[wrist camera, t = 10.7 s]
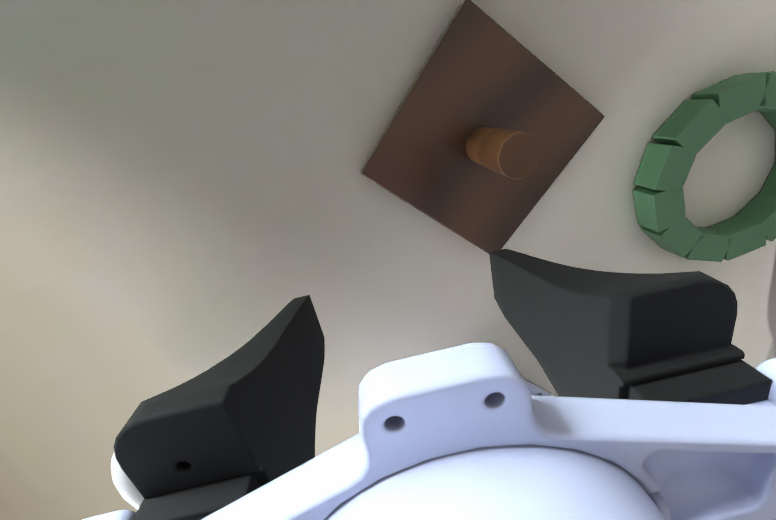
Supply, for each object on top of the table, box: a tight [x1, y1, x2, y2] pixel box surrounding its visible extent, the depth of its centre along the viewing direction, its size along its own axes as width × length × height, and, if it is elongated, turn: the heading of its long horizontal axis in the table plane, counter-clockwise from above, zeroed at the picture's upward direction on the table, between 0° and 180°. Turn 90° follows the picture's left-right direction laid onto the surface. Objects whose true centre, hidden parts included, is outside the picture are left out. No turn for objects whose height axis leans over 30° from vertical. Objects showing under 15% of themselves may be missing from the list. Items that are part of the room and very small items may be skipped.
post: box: [361, 0, 604, 254], centre depth 18 cm, size 10×10×6 cm
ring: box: [633, 72, 776, 262], centre depth 22 cm, size 11×11×2 cm
